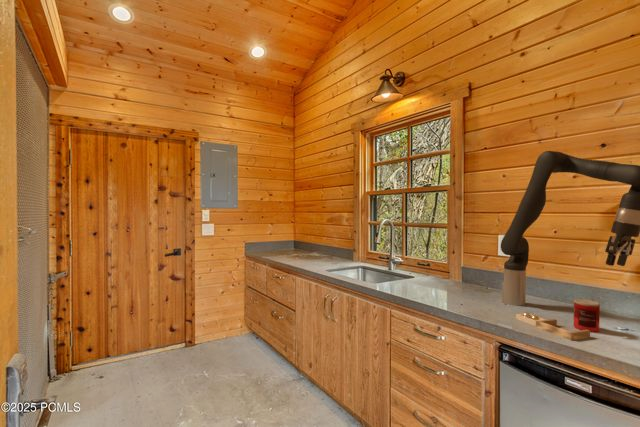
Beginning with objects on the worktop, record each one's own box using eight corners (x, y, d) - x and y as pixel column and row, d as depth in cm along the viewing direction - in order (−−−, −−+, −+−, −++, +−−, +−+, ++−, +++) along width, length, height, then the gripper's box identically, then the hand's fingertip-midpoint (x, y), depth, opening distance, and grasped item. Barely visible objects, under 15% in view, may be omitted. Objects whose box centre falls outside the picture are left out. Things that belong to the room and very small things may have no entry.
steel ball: (520, 319, 139) (520, 311, 138) (526, 318, 139) (526, 311, 139) (527, 321, 136) (527, 314, 136) (532, 320, 137) (532, 313, 137)
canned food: (587, 326, 132) (587, 298, 132) (605, 334, 124) (605, 304, 124) (568, 326, 131) (568, 298, 131) (585, 334, 124) (585, 304, 123)
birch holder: (536, 328, 129) (536, 321, 129) (553, 326, 132) (553, 318, 132) (571, 342, 116) (571, 333, 116) (589, 339, 119) (590, 330, 119)
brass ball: (528, 322, 135) (529, 314, 135) (534, 321, 136) (534, 313, 136) (535, 324, 132) (535, 316, 132) (541, 323, 133) (541, 316, 133)
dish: (516, 319, 139) (516, 314, 139) (526, 318, 141) (526, 313, 141) (535, 327, 131) (535, 321, 131) (546, 325, 132) (546, 319, 132)
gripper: (624, 221, 126) (611, 262, 128) (605, 218, 119) (593, 261, 122) (649, 225, 119) (636, 269, 122) (632, 222, 113) (618, 268, 115)
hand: (614, 265), depth 122 cm, fingers open, 8 cm apart
